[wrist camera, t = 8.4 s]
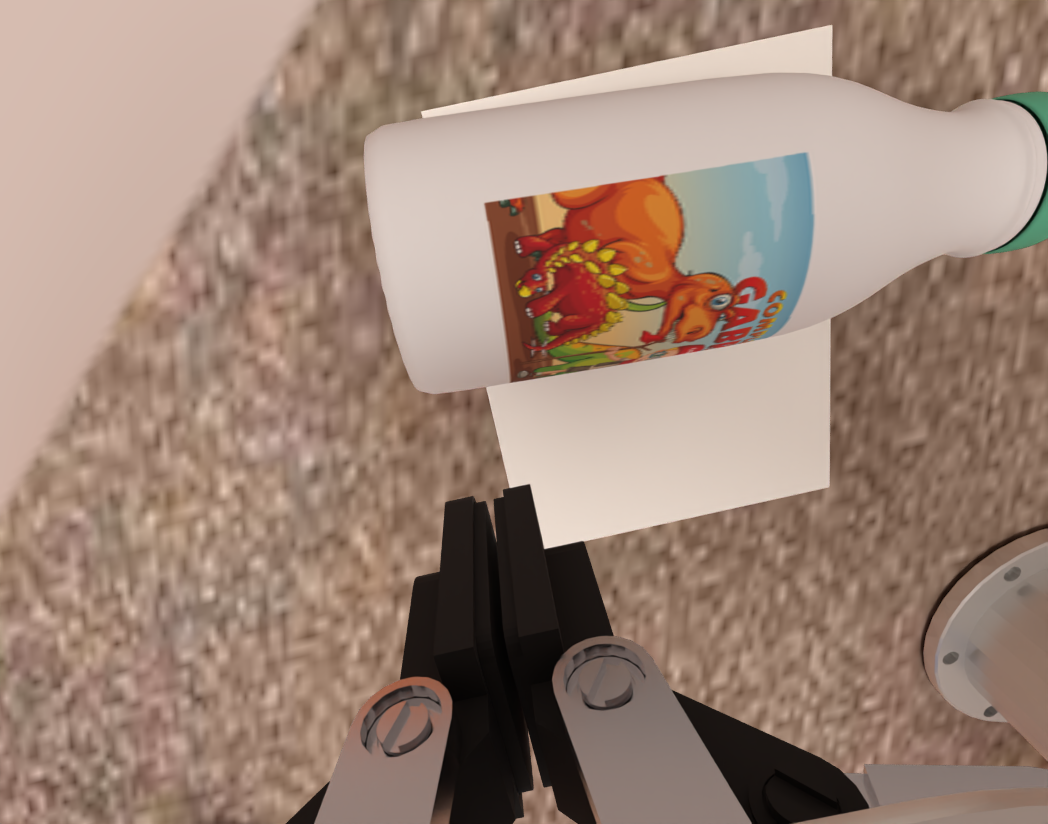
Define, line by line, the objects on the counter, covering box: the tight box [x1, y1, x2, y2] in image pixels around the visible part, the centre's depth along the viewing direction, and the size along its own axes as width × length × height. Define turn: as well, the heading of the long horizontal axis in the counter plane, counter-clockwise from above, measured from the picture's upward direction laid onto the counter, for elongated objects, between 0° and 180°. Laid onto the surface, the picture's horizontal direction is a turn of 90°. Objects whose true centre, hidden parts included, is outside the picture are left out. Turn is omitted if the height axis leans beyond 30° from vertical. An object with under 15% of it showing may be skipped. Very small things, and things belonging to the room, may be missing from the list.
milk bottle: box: [364, 73, 1048, 394], centre depth 18 cm, size 8×8×20 cm
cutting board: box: [421, 25, 832, 549], centre depth 23 cm, size 14×18×1 cm
